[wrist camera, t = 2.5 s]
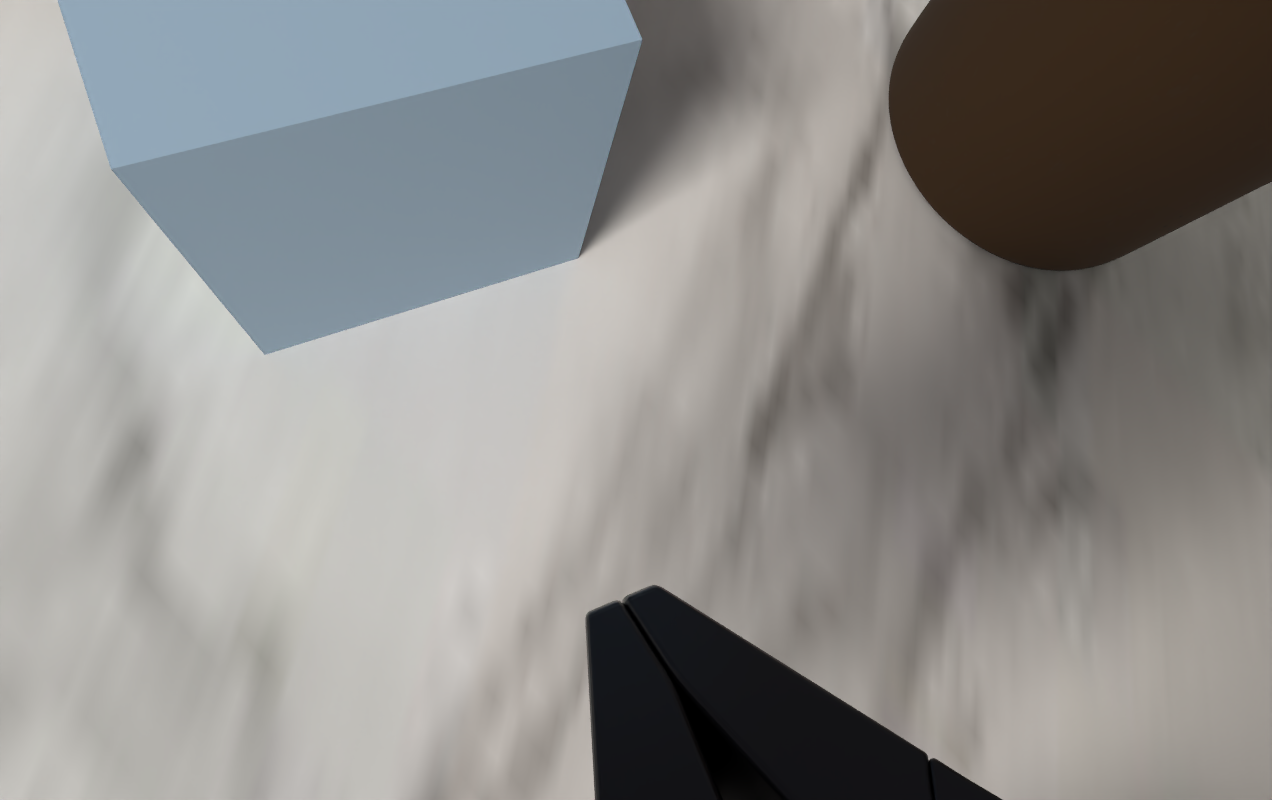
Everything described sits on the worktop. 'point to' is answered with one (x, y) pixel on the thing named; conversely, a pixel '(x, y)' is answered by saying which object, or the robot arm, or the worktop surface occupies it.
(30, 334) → the worktop surface
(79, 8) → the slate block
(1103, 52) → the olive oil
